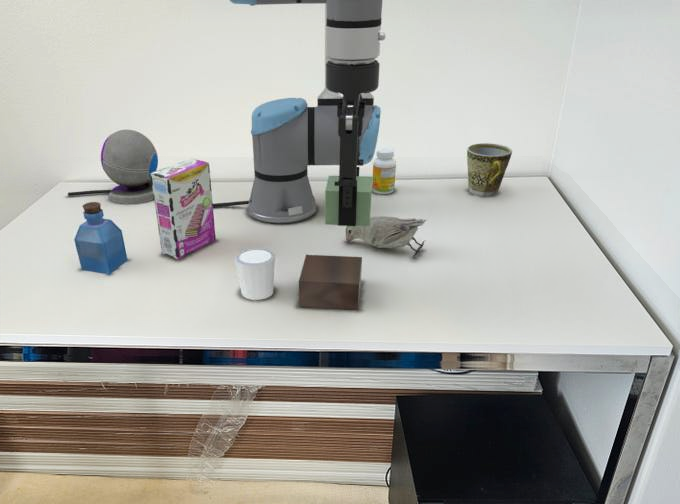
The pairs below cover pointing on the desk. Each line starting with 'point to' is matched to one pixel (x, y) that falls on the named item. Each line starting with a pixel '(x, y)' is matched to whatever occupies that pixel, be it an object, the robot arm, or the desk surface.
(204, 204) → the candy bar box
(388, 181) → the supplement bottle
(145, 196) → the grey ball on base
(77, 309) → the desk surface
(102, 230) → the perfume bottle
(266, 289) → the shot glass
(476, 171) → the ceramic cup
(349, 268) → the walnut block
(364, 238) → the decorative bird
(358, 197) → the green block
